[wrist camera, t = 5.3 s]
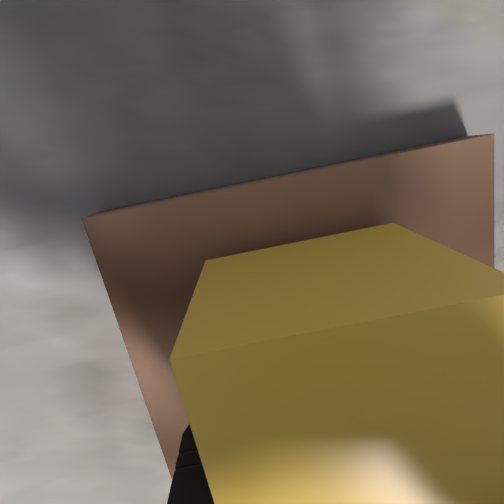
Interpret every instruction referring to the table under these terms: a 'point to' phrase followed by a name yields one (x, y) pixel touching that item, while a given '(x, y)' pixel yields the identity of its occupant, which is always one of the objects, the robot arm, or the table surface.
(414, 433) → the yellow rectangular block
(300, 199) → the board
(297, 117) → the table surface
